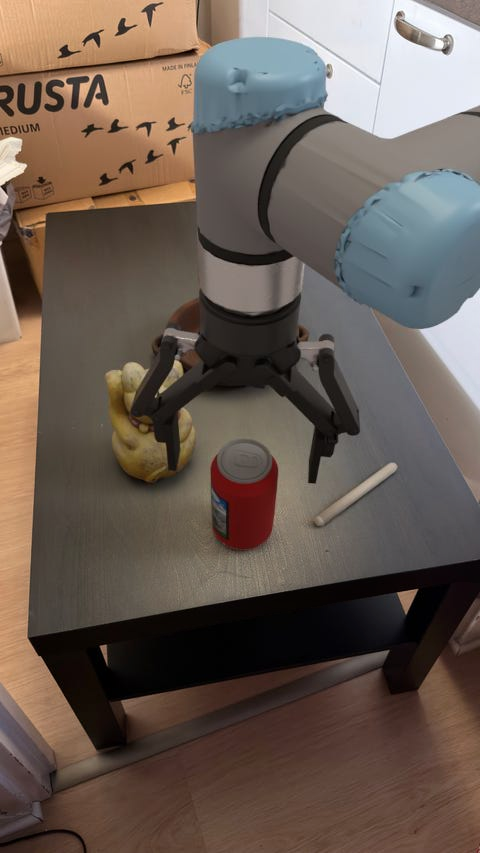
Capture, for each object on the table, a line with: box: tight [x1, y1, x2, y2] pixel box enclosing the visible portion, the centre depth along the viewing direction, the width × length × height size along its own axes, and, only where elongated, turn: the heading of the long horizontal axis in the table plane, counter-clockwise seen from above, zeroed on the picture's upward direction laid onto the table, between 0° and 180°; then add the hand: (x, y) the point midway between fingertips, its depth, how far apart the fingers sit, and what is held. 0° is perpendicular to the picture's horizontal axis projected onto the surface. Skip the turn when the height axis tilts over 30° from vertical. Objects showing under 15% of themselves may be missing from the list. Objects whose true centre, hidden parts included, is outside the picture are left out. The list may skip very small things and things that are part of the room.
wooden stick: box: [314, 461, 398, 527], centre depth 72 cm, size 1×13×1 cm, turn 130°
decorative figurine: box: [104, 360, 197, 483], centre depth 69 cm, size 10×8×15 cm
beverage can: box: [209, 437, 279, 551], centre depth 65 cm, size 7×7×12 cm
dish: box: [151, 296, 310, 387], centre depth 86 cm, size 18×22×5 cm
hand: (243, 466), depth 61 cm, fingers open, 13 cm apart
